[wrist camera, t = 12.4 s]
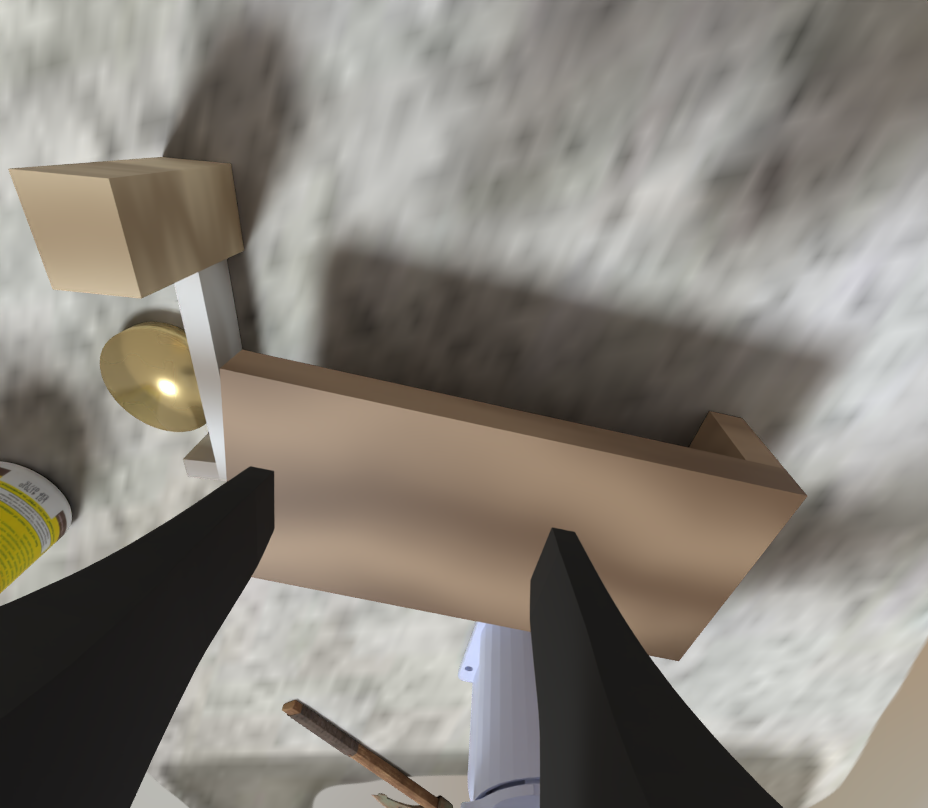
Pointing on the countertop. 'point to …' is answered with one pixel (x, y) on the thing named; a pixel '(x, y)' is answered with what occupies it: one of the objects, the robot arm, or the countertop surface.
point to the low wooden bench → (495, 499)
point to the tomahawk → (365, 759)
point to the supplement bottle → (28, 519)
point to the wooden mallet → (148, 254)
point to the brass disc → (154, 376)
